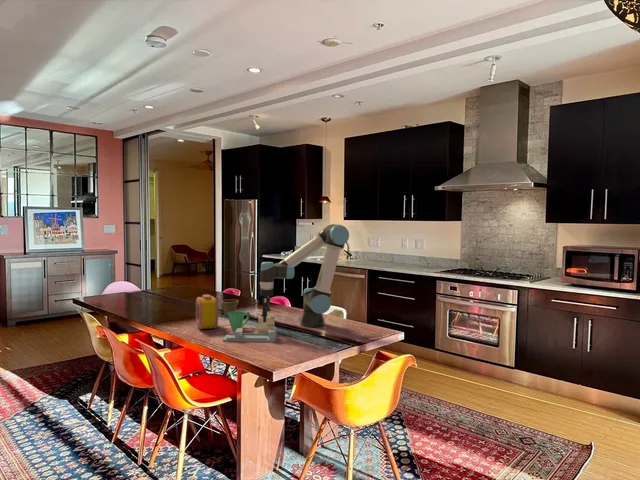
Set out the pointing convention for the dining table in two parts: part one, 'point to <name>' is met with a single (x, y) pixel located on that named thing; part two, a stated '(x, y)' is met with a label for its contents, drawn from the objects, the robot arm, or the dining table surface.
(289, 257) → the robot arm
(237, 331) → the slide jaw
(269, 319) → the maple block
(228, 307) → the flower pot
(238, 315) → the mug
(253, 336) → the vise
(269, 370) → the dining table surface
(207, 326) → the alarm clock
